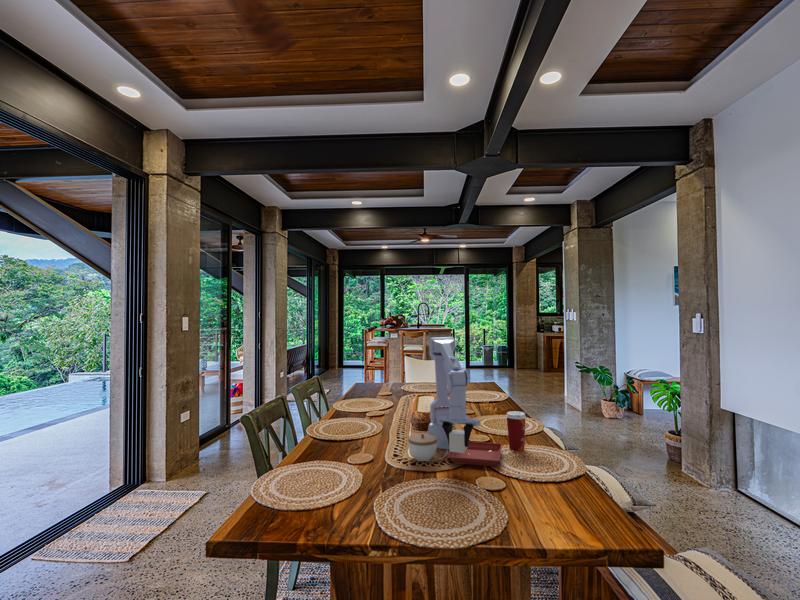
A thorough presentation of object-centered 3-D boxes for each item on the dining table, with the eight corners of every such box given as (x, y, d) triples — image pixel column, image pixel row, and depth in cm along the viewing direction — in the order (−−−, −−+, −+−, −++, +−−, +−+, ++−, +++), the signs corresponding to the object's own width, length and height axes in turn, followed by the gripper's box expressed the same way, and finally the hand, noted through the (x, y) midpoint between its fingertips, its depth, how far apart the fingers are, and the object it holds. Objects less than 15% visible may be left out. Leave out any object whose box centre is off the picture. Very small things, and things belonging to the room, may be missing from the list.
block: (449, 451, 136) (449, 433, 136) (453, 446, 140) (453, 429, 140) (463, 453, 134) (463, 435, 134) (467, 448, 138) (467, 430, 139)
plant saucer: (447, 465, 142) (447, 455, 142) (455, 448, 159) (455, 440, 160) (499, 470, 137) (499, 460, 137) (502, 452, 154) (502, 443, 154)
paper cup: (529, 452, 152) (528, 415, 152) (509, 452, 152) (508, 415, 153) (523, 445, 160) (522, 410, 160) (504, 445, 160) (503, 410, 160)
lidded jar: (427, 466, 140) (426, 439, 141) (402, 460, 147) (402, 434, 147) (443, 457, 149) (442, 432, 149) (419, 451, 155) (418, 427, 156)
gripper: (433, 406, 137) (434, 446, 136) (476, 409, 131) (477, 451, 131) (440, 401, 143) (440, 440, 143) (480, 404, 138) (481, 444, 137)
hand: (458, 445), depth 137 cm, fingers closed on block, 5 cm apart
